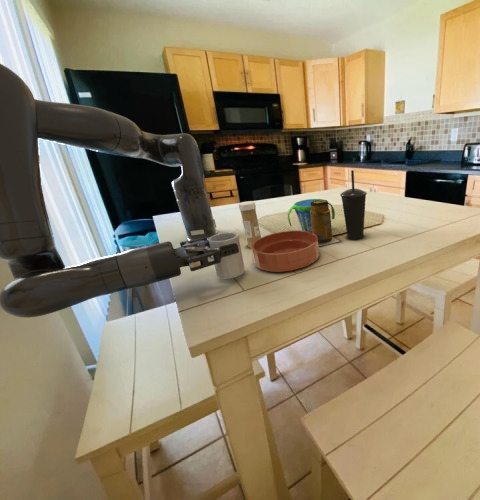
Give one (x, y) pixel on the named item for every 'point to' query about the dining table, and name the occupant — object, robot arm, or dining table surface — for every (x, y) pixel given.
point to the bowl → (275, 246)
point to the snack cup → (305, 213)
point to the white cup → (231, 263)
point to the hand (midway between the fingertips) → (233, 243)
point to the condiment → (321, 222)
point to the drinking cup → (354, 211)
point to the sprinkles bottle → (250, 221)
